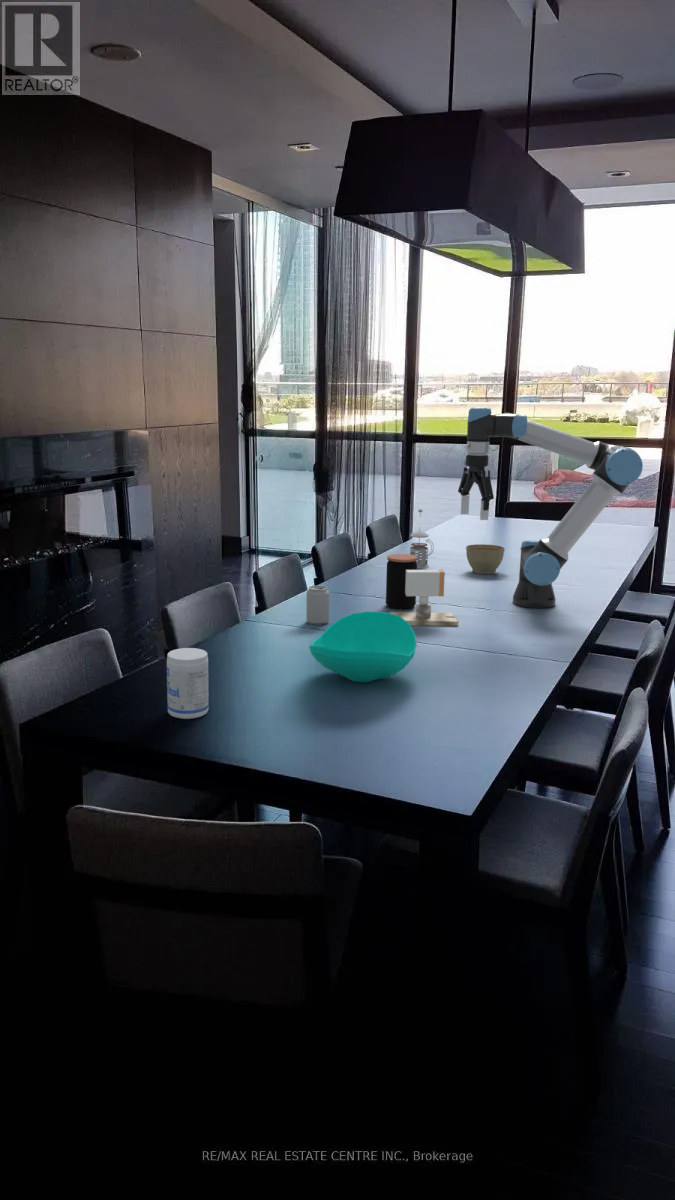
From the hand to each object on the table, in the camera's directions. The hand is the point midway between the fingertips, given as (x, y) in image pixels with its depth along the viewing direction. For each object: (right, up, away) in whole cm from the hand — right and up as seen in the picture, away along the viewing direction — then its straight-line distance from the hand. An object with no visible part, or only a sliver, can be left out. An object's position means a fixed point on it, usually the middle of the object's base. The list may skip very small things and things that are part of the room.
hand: (474, 517), depth 295 cm
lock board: (-18, -35, -8) cm, 41 cm away
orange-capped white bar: (-18, -30, -10) cm, 36 cm away
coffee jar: (-24, -31, +11) cm, 41 cm away
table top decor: (-40, -49, -65) cm, 91 cm away
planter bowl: (+15, -17, +70) cm, 74 cm away
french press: (-11, -14, +81) cm, 83 cm away
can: (-53, -36, -12) cm, 65 cm away
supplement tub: (-82, -55, -92) cm, 135 cm away
